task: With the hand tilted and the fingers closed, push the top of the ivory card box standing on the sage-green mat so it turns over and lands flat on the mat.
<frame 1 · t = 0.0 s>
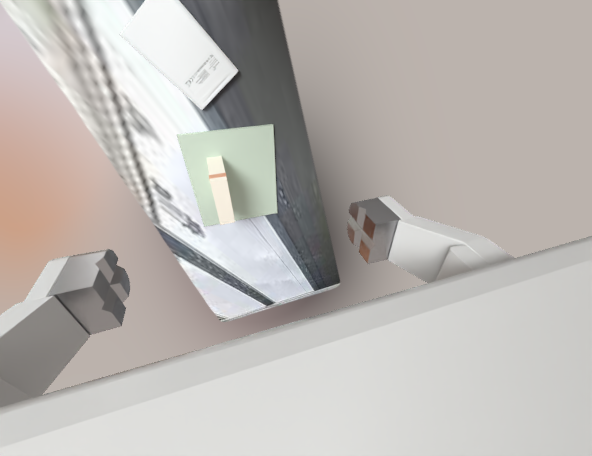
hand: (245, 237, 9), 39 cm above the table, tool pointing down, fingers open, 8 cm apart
external hard drive: (184, 52, 37), on the table
mat: (235, 179, 52), on the table
card box: (218, 178, 50), resting on mat
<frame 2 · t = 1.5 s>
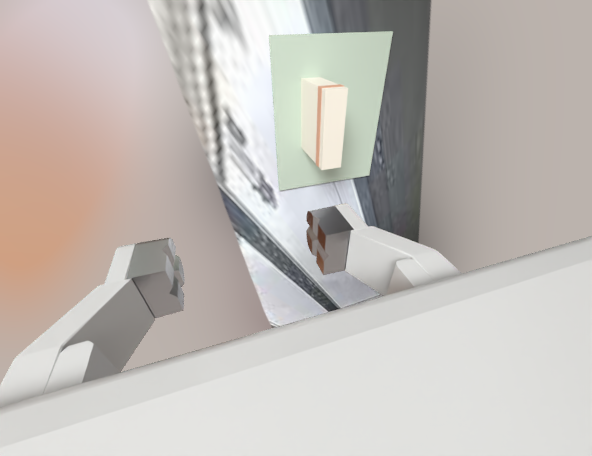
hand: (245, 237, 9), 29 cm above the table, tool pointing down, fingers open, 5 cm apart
mat: (328, 119, 38), on the table
card box: (310, 114, 37), resting on mat
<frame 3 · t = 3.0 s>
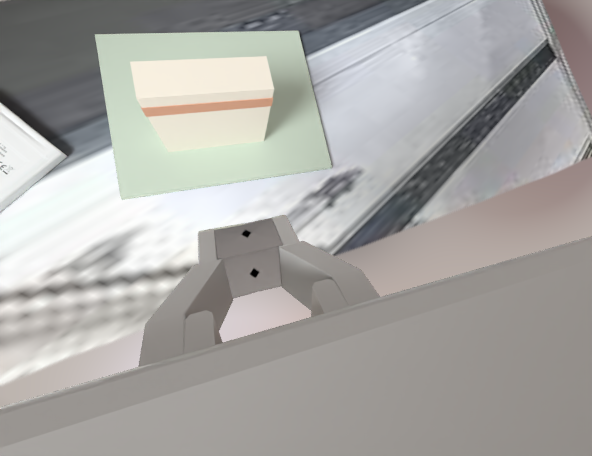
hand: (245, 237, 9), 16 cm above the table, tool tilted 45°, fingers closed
mat: (220, 106, 27), on the table
card box: (215, 133, 26), resting on mat
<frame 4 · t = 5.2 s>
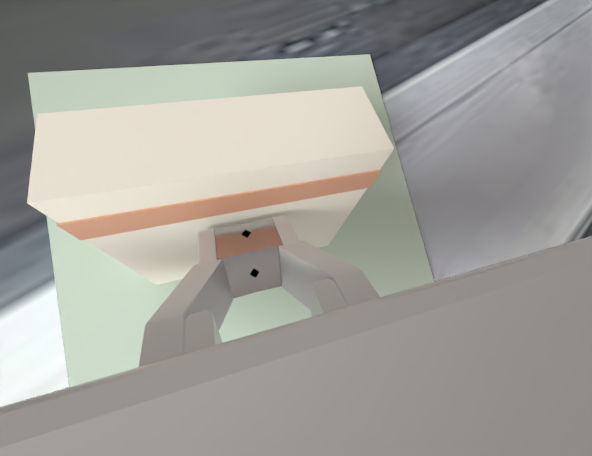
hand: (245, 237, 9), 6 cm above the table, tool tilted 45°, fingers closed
mat: (250, 190, 16), on the table
card box: (243, 241, 14), point 1 cm above the table, tilted 16°, touching mat
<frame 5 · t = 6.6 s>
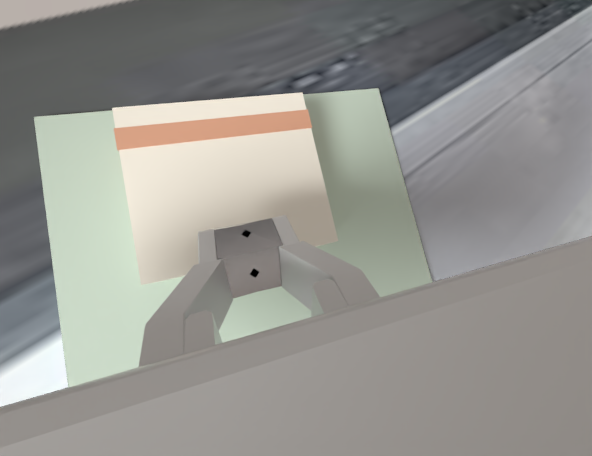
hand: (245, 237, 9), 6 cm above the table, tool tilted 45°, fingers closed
mat: (258, 231, 15), on the table
card box: (247, 261, 13), point 2 cm above the table, tilted 90°, touching mat
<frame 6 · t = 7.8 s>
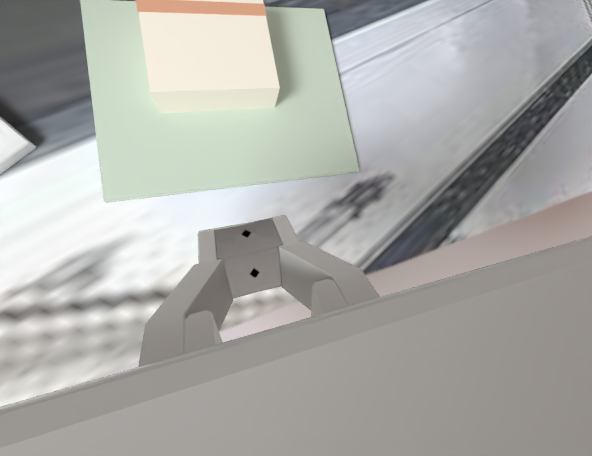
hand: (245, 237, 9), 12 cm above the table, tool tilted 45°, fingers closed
mat: (230, 94, 22), on the table
card box: (219, 100, 20), point 2 cm above the table, tilted 90°, touching mat
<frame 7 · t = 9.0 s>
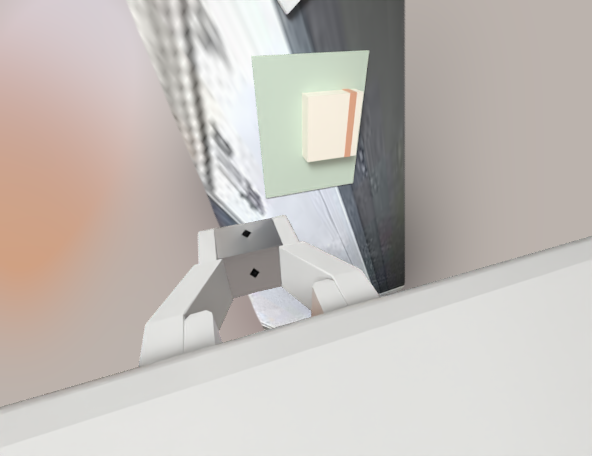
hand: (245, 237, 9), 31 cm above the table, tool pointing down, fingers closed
mat: (311, 131, 40), on the table
card box: (304, 129, 38), point 2 cm above the table, tilted 90°, touching mat
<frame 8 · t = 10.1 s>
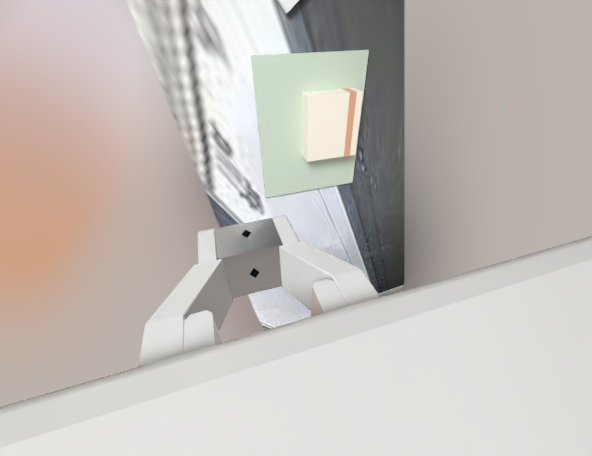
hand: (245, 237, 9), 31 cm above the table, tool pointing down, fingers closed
mat: (311, 130, 41), on the table
card box: (304, 128, 38), point 2 cm above the table, tilted 90°, touching mat
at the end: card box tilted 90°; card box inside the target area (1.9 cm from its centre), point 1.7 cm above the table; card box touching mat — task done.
